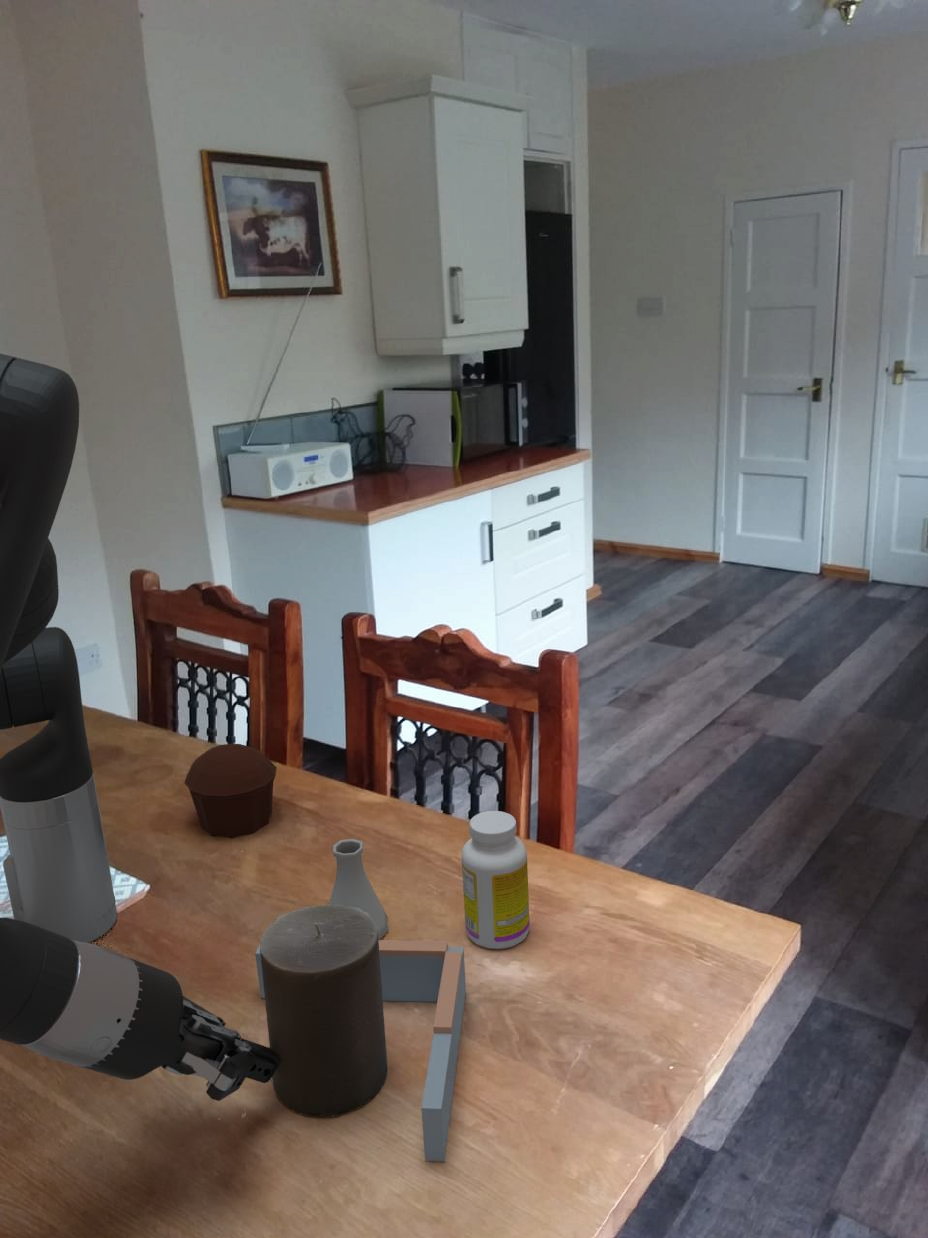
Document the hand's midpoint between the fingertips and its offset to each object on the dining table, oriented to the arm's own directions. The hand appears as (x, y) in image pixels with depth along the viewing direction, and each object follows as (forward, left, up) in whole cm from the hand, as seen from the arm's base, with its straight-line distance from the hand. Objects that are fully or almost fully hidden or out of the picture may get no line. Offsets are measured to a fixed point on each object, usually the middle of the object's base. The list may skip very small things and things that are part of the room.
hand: (270, 1066), depth 80 cm
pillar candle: (+4, +4, -4) cm, 7 cm away
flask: (+2, +24, -4) cm, 25 cm away
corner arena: (+5, +5, -4) cm, 8 cm away
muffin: (-18, +47, -4) cm, 51 cm away
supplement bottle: (+17, +24, -4) cm, 30 cm away
